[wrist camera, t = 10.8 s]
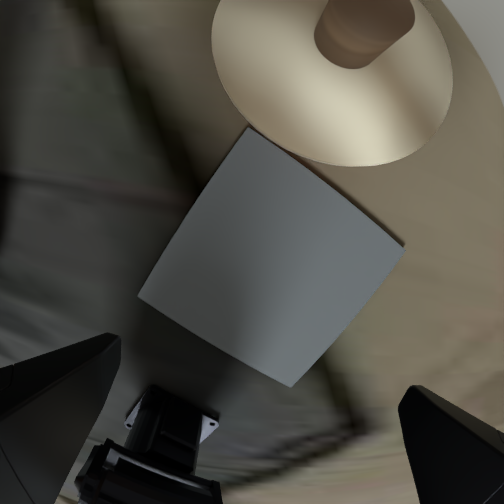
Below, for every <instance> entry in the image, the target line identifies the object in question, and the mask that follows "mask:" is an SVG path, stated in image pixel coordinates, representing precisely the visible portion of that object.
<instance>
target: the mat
mask: <svg viewBox="0 0 504 504" xmlns="http://www.w3.org/2000/svg"><path fill="white" fill-rule="evenodd" d="M405 251H406V250H405V249H404V248H403V247H402V246H400V245H399V244H398V243H397V242H396V241H395V240H394V239H393V238H391V237H390V236H389V235H388V234H387V233H386V232H385V231H384V230H382V229H381V228H380V227H379V226H378V225H377V224H375V223H374V222H373V221H372V220H371V219H370V218H368V217H367V216H366V215H365V214H364V213H362V212H361V211H360V210H359V209H358V208H356V207H355V206H354V205H353V204H352V203H350V202H349V201H348V200H347V199H345V198H344V197H343V196H342V195H340V194H339V193H338V192H337V191H335V190H334V189H333V188H332V187H330V186H329V185H328V184H326V183H325V182H324V181H323V180H321V179H320V178H319V177H317V176H316V175H315V174H313V173H312V172H311V171H309V170H308V169H307V168H305V167H304V166H303V165H301V164H300V163H299V162H297V161H296V160H295V159H293V158H292V157H291V156H289V155H288V154H286V153H285V152H284V151H282V150H281V149H279V148H278V147H277V146H275V145H274V144H272V143H271V142H269V141H268V140H267V139H265V138H264V137H262V136H261V135H259V134H258V133H256V132H255V131H253V130H252V129H250V128H249V127H248V128H247V129H246V131H245V132H244V133H243V135H242V136H241V137H240V139H239V140H238V141H237V143H236V144H235V146H234V147H233V148H232V150H231V151H230V153H229V154H228V155H227V157H226V158H225V160H224V161H223V162H222V164H221V165H220V167H219V168H218V170H217V171H216V172H215V174H214V175H213V177H212V178H211V180H210V181H209V183H208V184H207V186H206V187H205V189H204V190H203V192H202V193H201V194H200V196H199V197H198V199H197V200H196V202H195V203H194V205H193V207H192V208H191V210H190V211H189V213H188V214H187V216H186V217H185V219H184V220H183V222H182V223H181V225H180V227H179V228H178V230H177V231H176V233H175V234H174V236H173V238H172V239H171V241H170V242H169V244H168V246H167V247H166V249H165V250H164V252H163V254H162V255H161V257H160V259H159V260H158V262H157V264H156V265H155V267H154V268H153V270H152V272H151V273H150V275H149V277H148V279H147V280H146V282H145V284H144V285H143V287H142V289H141V290H140V292H139V294H138V297H139V298H141V299H142V300H143V301H145V302H146V303H148V304H149V305H151V306H152V307H154V308H155V309H157V310H158V311H160V312H161V313H163V314H164V315H166V316H167V317H169V318H171V319H172V320H174V321H175V322H177V323H178V324H180V325H181V326H183V327H185V328H186V329H188V330H189V331H191V332H193V333H194V334H196V335H197V336H199V337H201V338H202V339H204V340H206V341H207V342H209V343H211V344H212V345H214V346H216V347H217V348H219V349H221V350H223V351H224V352H226V353H228V354H229V355H231V356H233V357H235V358H236V359H238V360H240V361H242V362H243V363H245V364H247V365H249V366H251V367H252V368H254V369H256V370H258V371H260V372H262V373H264V374H265V375H267V376H269V377H271V378H273V379H275V380H277V381H279V382H281V383H282V384H284V385H286V386H288V387H290V388H291V387H292V386H293V385H294V384H295V383H296V382H297V381H298V380H299V379H300V378H301V377H302V375H303V374H304V373H305V372H306V371H307V370H308V369H309V368H310V367H311V366H312V365H313V364H314V363H315V362H316V361H317V359H318V358H319V357H320V356H321V355H322V354H323V353H324V352H325V351H326V350H327V348H328V347H329V346H330V345H331V344H332V343H333V342H334V341H335V339H336V338H337V337H338V336H339V335H340V334H341V333H342V331H343V330H344V329H345V328H346V327H347V326H348V324H349V323H350V322H351V321H352V320H353V318H354V317H355V316H356V315H357V314H358V312H359V311H360V310H361V309H362V307H363V306H364V305H365V304H366V303H367V301H368V300H369V299H370V297H371V296H372V295H373V294H374V292H375V291H376V290H377V289H378V287H379V286H380V285H381V283H382V282H383V281H384V279H385V278H386V277H387V276H388V274H389V273H390V272H391V270H392V269H393V267H394V266H395V265H396V263H397V262H398V261H399V259H400V258H401V256H402V255H403V254H404V252H405Z"/></svg>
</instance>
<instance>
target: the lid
mask: <svg viewBox="0 0 504 504" xmlns="http://www.w3.org/2000/svg"><path fill="white" fill-rule="evenodd" d="M211 43H212V53H213V58H214V61H215V65H216V69H217V72H218V75H219V78H220V80H221V82H222V85H223V87H224V90H225V91H226V93H227V95H228V96H229V98H230V100H231V101H232V103H233V105H234V106H235V107H236V108H237V110H238V111H239V112H240V113H241V115H242V116H243V117H244V118H245V119H246V120H247V121H248V122H249V123H250V124H251V125H252V126H253V127H254V128H255V129H256V130H257V131H259V132H260V133H261V134H263V135H264V136H265V137H266V138H268V139H269V140H271V141H272V142H274V143H275V144H277V145H279V146H280V147H282V148H284V149H285V150H288V151H290V152H292V153H294V154H296V155H298V156H301V157H304V158H307V159H310V160H313V161H316V162H320V163H325V164H329V165H335V166H347V167H354V166H374V165H380V164H385V163H390V162H393V161H396V160H399V159H402V158H404V157H406V156H408V155H409V154H411V153H413V152H415V151H416V150H418V149H419V148H420V147H422V146H423V145H425V144H426V143H427V142H428V141H429V140H430V139H431V138H432V137H433V135H434V134H435V133H436V132H437V130H438V129H439V127H440V126H441V124H442V122H443V120H444V118H445V116H446V114H447V111H448V108H449V105H450V102H451V96H452V89H453V73H452V65H451V60H450V56H449V52H448V48H447V46H446V43H445V40H444V38H443V35H442V33H441V32H440V30H439V28H438V26H437V24H436V22H435V21H434V19H433V18H432V16H431V15H430V13H429V12H428V11H427V9H426V8H425V7H424V6H423V5H422V3H421V2H420V1H419V0H221V1H220V3H219V5H218V8H217V10H216V12H215V16H214V20H213V24H212V35H211Z"/></svg>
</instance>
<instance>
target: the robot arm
mask: <svg viewBox="0 0 504 504" xmlns="http://www.w3.org/2000/svg"><path fill="white" fill-rule="evenodd" d="M120 361H121V338H120V336H118V335H115V334H112V333H104V334H101V335H98V336H95V337H92V338H90V339H87V340H84V341H81V342H78V343H75V344H72V345H69V346H66V347H63V348H60V349H58V350H55V351H52V352H49V353H46V354H43V355H40V356H37V357H34V358H31V359H28V360H25V361H21V362H18V363H15V364H14V366H13V365H9V366H6V367H3V368H0V504H54V503H55V501H56V499H57V497H58V494H59V492H60V490H61V488H62V486H63V484H64V482H65V480H66V478H67V476H68V474H69V472H70V470H71V468H72V466H73V464H74V462H75V460H76V458H77V456H78V454H79V452H80V450H81V448H82V446H83V444H84V443H85V441H86V439H87V437H88V435H89V433H90V431H91V429H92V427H93V425H94V424H95V422H96V420H97V418H98V416H99V414H100V412H101V410H102V408H103V406H104V404H105V401H106V399H107V396H108V394H109V391H110V389H111V386H112V384H113V381H114V379H115V376H116V374H117V371H118V369H119V366H120ZM152 390H153V391H155V392H153V391H152ZM398 413H399V418H400V423H401V428H402V433H403V439H404V444H405V448H406V452H407V456H408V459H409V463H410V466H411V470H412V474H413V478H414V481H415V485H416V489H417V493H418V497H419V501H420V504H504V433H503V432H501V431H499V430H496V429H495V428H494V427H492V426H490V425H488V424H487V423H485V422H483V421H481V420H480V419H478V418H476V417H474V416H473V415H471V414H469V413H467V412H466V411H464V410H462V409H461V408H459V407H457V406H455V405H454V404H452V403H450V402H449V401H447V400H445V399H444V398H442V397H440V396H438V395H437V394H435V393H433V392H432V391H430V390H428V389H427V388H425V387H423V386H421V385H412V386H410V387H409V388H408V389H407V391H406V393H405V395H404V396H403V398H402V400H401V402H400V403H399V406H398ZM211 422H214V423H211ZM218 425H219V420H218V419H217V418H215V417H213V416H211V415H209V414H207V413H205V412H203V411H201V410H199V409H197V408H195V407H193V406H192V405H190V404H188V403H186V402H184V401H182V400H180V399H178V398H177V397H175V396H173V395H171V394H170V393H168V392H166V391H164V390H163V389H161V388H159V387H157V386H155V385H151V386H149V387H148V389H147V390H146V392H145V393H144V395H143V396H142V397H141V399H140V400H139V402H138V403H137V404H136V406H135V407H134V409H133V410H132V411H131V413H130V414H129V416H128V417H127V419H126V420H125V422H124V426H125V427H126V428H128V429H130V432H129V435H128V437H127V440H126V442H125V445H124V447H122V446H120V445H118V444H116V443H114V441H113V440H111V439H109V438H107V439H106V441H105V443H104V445H103V444H101V445H94V447H93V449H92V451H91V453H90V455H89V457H88V459H87V461H86V463H85V464H84V466H83V467H82V469H81V470H80V472H79V473H78V475H77V476H76V479H75V481H74V484H75V486H76V488H77V490H78V492H79V493H78V496H77V497H79V501H78V504H223V502H222V496H221V490H220V483H219V482H217V481H214V480H211V481H210V480H207V479H204V478H201V477H198V476H195V469H196V463H197V457H198V451H199V445H200V443H201V442H202V441H203V440H204V439H205V438H206V437H207V436H208V435H209V434H211V433H212V432H213V431H214V430H215V429H216V428H217V427H218Z"/></svg>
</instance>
